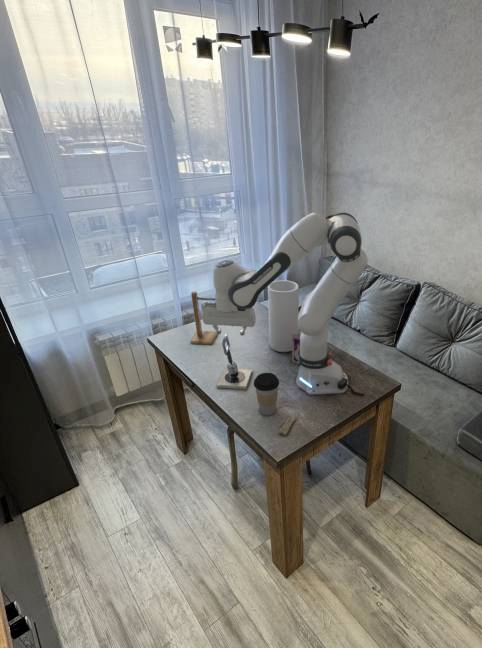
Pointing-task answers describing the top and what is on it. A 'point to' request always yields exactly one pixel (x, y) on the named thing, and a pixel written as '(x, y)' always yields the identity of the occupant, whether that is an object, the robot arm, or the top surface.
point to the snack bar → (287, 425)
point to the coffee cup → (267, 392)
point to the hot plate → (234, 379)
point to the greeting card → (295, 348)
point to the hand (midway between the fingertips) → (230, 334)
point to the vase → (283, 314)
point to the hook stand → (200, 335)
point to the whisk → (230, 359)
